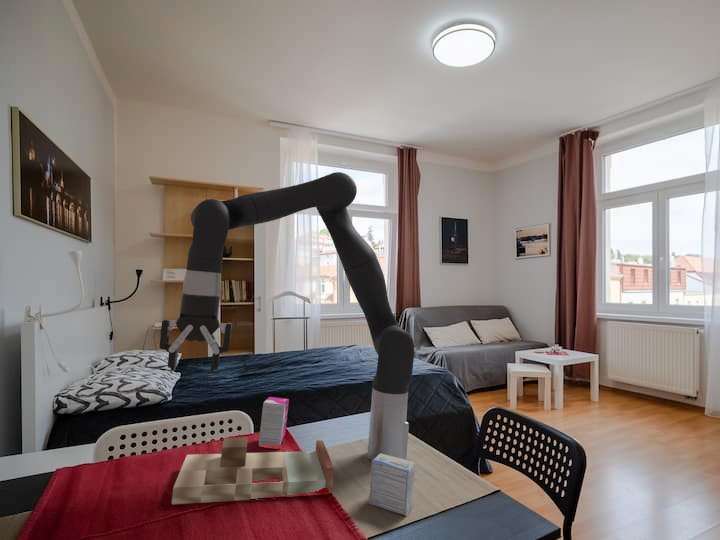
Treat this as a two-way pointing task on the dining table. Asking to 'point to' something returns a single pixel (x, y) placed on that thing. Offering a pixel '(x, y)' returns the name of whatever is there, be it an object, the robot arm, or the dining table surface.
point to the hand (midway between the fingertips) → (193, 370)
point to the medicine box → (392, 484)
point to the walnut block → (233, 452)
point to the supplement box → (273, 421)
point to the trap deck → (253, 476)
